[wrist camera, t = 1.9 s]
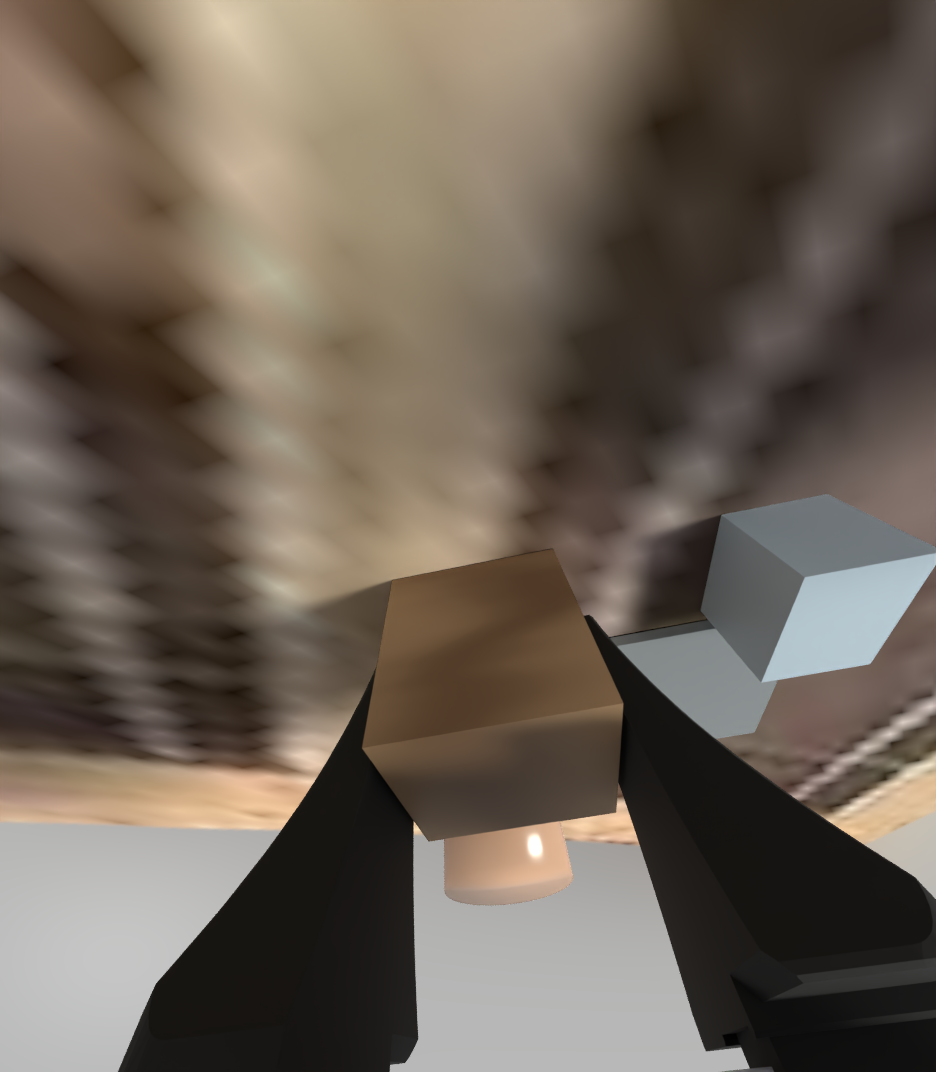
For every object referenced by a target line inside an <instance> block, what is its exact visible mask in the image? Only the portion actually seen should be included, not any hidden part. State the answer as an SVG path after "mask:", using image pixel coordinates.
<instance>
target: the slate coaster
mask: <svg viewBox="0 0 936 1072" xmlns="http://www.w3.org/2000/svg"><path fill="white" fill-rule="evenodd" d="M610 639H611V640H612V641H613V642H614V643H615V645H616V646H617V647H618V648H619V649H620V650H621V651H622V652H623V653H624V654H625V656H626V657H627V658H628V659H629V660H630V661H631V662H632V663H633V664H634V665H635V666H636V667H637V668H638V669H639V670H640V671H641V672H642V673H643V674H644V675H645V676H646V677H647V678H648V679H649V680H650V681H651V682H652V683H653V684H654V685H655V686H656V687H657V688H658V689H659V690H660V691H661V692H662V693H663V694H665V695H666V696H667V697H668V698H669V699H670V700H671V701H672V702H673V703H674V704H675V705H676V706H678V707H679V708H680V709H681V710H682V711H683V712H684V713H685V714H687V715H688V716H689V717H690V718H691V719H692V720H693V721H695V722H696V723H697V724H698V725H699V726H701V727H702V728H703V729H704V730H705V731H707V732H708V733H709V734H710V735H711V736H713V737H714V738H715V739H717V738H723V737H730V736H736V735H742V734H748V733H754V732H755V730H756V728H757V725H758V723H759V721H760V719H761V716H762V714H763V712H764V710H765V708H766V705H767V703H768V701H769V699H770V697H771V694H772V692H773V690H774V688H775V685H776V683H777V681H778V680H774V681H768V682H762V683H761V682H760V681H759V679H758V678H757V677H756V676H755V675H754V674H753V672H752V671H751V670H750V669H749V668H748V666H747V665H746V664H745V663H744V662H743V661H742V659H741V658H740V657H739V656H738V655H737V653H736V652H735V651H734V650H733V649H732V648H731V646H730V645H729V644H728V643H727V642H726V640H725V639H724V638H723V637H722V636H721V635H720V633H719V632H718V631H717V630H716V629H715V627H714V626H713V625H712V624H711V623H710V622H709V620H706V621H700V622H695V623H689V624H684V625H678V626H673V627H667V628H662V629H656V630H651V631H645V632H640V633H634V634H629V635H623V636H618V637H612V638H610Z"/></svg>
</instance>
